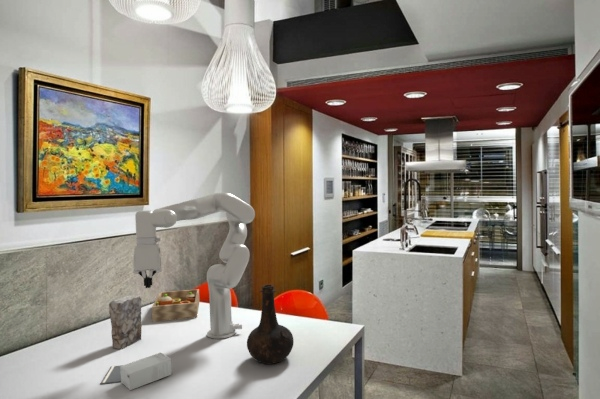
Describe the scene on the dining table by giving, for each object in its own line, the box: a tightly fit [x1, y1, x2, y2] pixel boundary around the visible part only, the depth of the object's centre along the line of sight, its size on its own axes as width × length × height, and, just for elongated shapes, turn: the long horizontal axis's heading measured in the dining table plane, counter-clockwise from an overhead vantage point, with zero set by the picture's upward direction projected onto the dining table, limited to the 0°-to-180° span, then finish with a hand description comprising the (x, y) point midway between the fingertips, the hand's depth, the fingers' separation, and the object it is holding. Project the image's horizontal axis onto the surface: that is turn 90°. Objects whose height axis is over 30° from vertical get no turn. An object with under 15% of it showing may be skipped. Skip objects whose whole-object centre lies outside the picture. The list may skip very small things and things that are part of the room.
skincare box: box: [119, 352, 172, 391], centre depth 142 cm, size 8×6×15 cm
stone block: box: [108, 294, 143, 350], centre depth 178 cm, size 13×7×20 cm, turn 165°
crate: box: [151, 288, 200, 323], centre depth 227 cm, size 22×32×8 cm
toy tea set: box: [156, 292, 196, 306], centre depth 227 cm, size 26×16×10 cm, turn 171°
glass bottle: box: [246, 284, 295, 365], centre depth 156 cm, size 18×18×28 cm
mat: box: [100, 364, 124, 385], centre depth 148 cm, size 18×14×1 cm
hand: (148, 287), depth 165 cm, fingers closed
